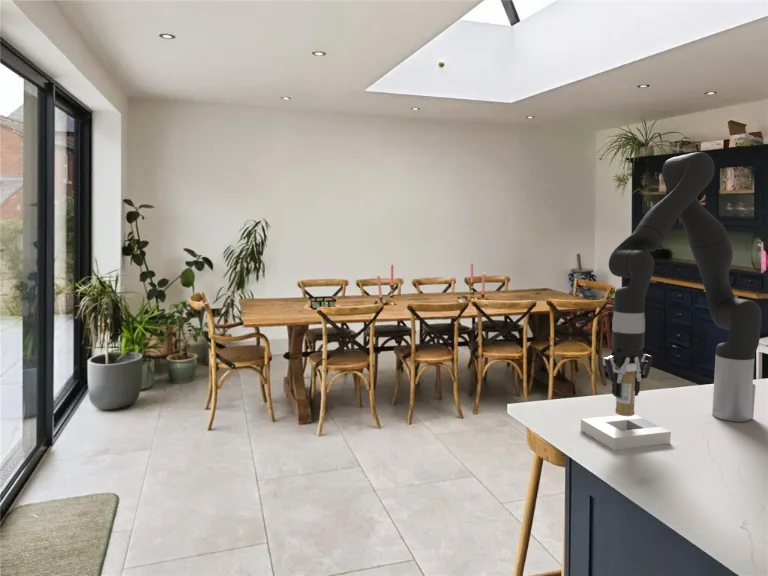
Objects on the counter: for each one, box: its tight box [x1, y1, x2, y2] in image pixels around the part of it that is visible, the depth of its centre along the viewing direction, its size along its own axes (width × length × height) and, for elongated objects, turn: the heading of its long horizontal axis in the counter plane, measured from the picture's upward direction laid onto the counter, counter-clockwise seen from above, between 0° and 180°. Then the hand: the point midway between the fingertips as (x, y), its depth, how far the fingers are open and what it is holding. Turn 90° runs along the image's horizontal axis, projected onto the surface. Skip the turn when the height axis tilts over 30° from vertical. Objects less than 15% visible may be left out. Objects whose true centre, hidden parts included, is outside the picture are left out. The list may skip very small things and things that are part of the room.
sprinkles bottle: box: [615, 363, 636, 416], centre depth 150 cm, size 5×5×13 cm
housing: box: [580, 413, 672, 451], centre depth 151 cm, size 16×14×3 cm
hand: (625, 395), depth 150 cm, fingers closed on sprinkles bottle, 4 cm apart
